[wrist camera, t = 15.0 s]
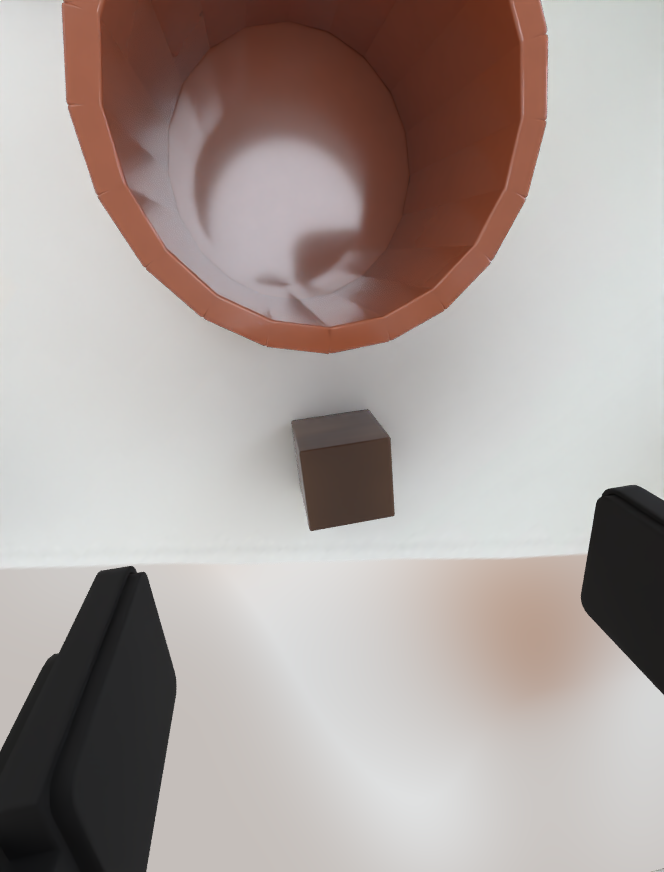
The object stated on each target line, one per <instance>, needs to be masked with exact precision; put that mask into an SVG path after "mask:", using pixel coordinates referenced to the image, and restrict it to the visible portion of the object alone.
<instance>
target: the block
mask: <svg viewBox="0 0 664 872" xmlns="http://www.w3.org/2000/svg"><path fill="white" fill-rule="evenodd" d="M291 424H292V431H293V438H294V445H295V452H296V459H297V466H298V473H299V480H300V487H301V492H302V497H303V502H304V506H305V511H306V515H307V520H308V525H309V529H310V531H314V530H319V529H325V528H330V527H336V526H342V525H347V524H353V523H358V522H364V521H369V520H375V519H380V518H386V517H391V516H394V514H395V512H394V494H393V475H392V457H391V438H390V437H389V435H388V434H387V433H386V432H385V430H384V429H383V428H382V426H381V425H380V424H379V423H378V421H377V420H376V419H375V417H374V416H373V415H372V413H371V412H370V411H369V410H368V409H367V410H360V411H354V412H347V413H341V414H334V415H327V416H321V417H314V418H307V419H301V420H294V421H292V422H291Z"/></svg>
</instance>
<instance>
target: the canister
mask: <svg viewBox="0 0 664 872" xmlns="http://www.w3.org/2000/svg"><path fill="white" fill-rule="evenodd" d="M63 1H64V3H62V22H63V42H64V62H65V83H66V102H67V104H68V110H69V113H70V116H71V119H72V122H73V125H74V128H75V132H76V135H77V138H78V141H79V144H80V147H81V150H82V153H83V156H84V159H85V162H86V165H87V168H88V171H89V174H90V177H91V180H92V183H93V186H94V189H95V192H96V194H97V195H98V199H99V200H100V202H101V203H102V205H103V206H104V208H105V209H106V211H107V212H108V214H109V215H110V217H111V218H112V220H113V221H114V223H115V224H116V226H117V227H118V229H119V230H120V232H121V234H122V235H123V237H124V238H125V240H126V241H127V243H128V244H129V246H130V247H131V249H132V250H133V252H134V253H135V255H136V256H137V258H138V259H139V261H140V262H141V264H142V265H143V266H144V267H146V269H147V271H148V272H150V273H151V274H152V275H153V276H154V277H155V278H156V279H158V280H159V281H160V282H161V283H162V284H163V285H165V286H166V287H167V288H168V289H169V290H170V291H172V292H173V293H174V294H175V295H176V296H177V297H178V298H180V299H181V300H182V301H183V302H184V303H185V304H187V305H188V306H189V307H190V308H191V309H192V310H194V311H195V312H196V313H197V314H198V315H199V316H200V317H204V319H205V320H207V321H209V322H212V323H214V324H216V325H218V326H221V327H223V328H225V329H227V330H230V331H232V332H234V333H236V334H238V335H241V336H243V337H245V338H247V339H250V340H252V341H254V342H256V343H259V344H261V345H263V346H267V347H271V348H280V349H289V350H298V351H307V352H316V353H325V354H329V353H336V352H341V351H346V350H351V349H356V348H360V347H365V346H370V345H375V344H380V343H385V342H388V341H389V340H393V339H395V338H397V337H399V336H400V335H402V334H404V333H406V332H408V331H409V330H411V329H413V328H415V327H416V326H418V325H420V324H422V323H424V322H425V321H427V320H429V319H431V318H432V317H434V316H436V315H438V314H440V313H441V312H443V311H444V309H447V308H448V307H449V306H450V305H451V304H452V303H453V302H454V301H455V300H456V299H457V298H458V296H459V295H460V294H461V293H462V292H463V291H464V290H465V289H466V288H467V287H468V286H469V285H470V284H471V283H472V282H473V281H474V280H475V279H476V278H477V277H478V276H479V275H480V274H481V273H482V272H483V271H484V270H485V269H486V268H487V266H488V265H489V264H490V263H491V261H492V260H493V258H494V257H495V255H496V253H497V251H498V249H499V248H500V246H501V244H502V242H503V240H504V238H505V237H506V235H507V233H508V231H509V229H510V228H511V226H512V224H513V222H514V220H515V218H516V217H517V215H518V213H519V211H520V209H521V208H522V206H523V204H524V202H525V198H526V197H527V195H528V192H529V188H530V184H531V180H532V177H533V173H534V169H535V165H536V161H537V157H538V154H539V150H540V146H541V142H542V138H543V134H544V130H545V127H546V121H545V120H546V118H547V82H548V35H546V33H547V26H546V22H545V17H544V13H543V9H542V5H541V0H63Z"/></svg>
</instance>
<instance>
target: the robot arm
mask: <svg viewBox="0 0 664 872" xmlns="http://www.w3.org/2000/svg"><path fill="white" fill-rule="evenodd" d="M581 602H582V605H583V607H584V609H585V611H586V612H587V614H588V615H589V616H590V617H591V618H592V619H593V620H594V621H595V622H596V623H597V624H598V626H600V628H601V629H602V630H603V631H604V632H605V633H606V634H607V635H608V636H609V637H610V638H611V639H612V640H613V641H614V642H615V644H616V645H617V646H618V647H619V648H620V649H621V650H622V651H623V652H624V653H625V654H626V655H627V656H628V657H629V658H630V659H631V661H632V662H633V663H634V664H635V665H636V666H637V667H638V668H639V669H640V670H641V671H642V672H643V673H644V674H645V675H646V676H647V678H648V679H650V681H651V682H652V683H653V684H654V685H655V686H656V687H657V688H658V689H659V690H660V691H661V692H662V693H663V694H664V500H662V499H660V498H658V497H657V496H655V495H653V494H652V493H650V492H648V491H647V490H645V489H643V488H642V487H639V486H637V485H629V486H623V487H617V488H610V489H607V490H605V491H604V493H603V494H602V497H601V498H599V499H598V500H597V503H596V508H595V514H594V520H593V526H592V532H591V538H590V544H589V550H588V556H587V562H586V568H585V574H584V580H583V586H582V592H581ZM175 698H176V676H175V671H174V668H173V664H172V661H171V657H170V654H169V650H168V647H167V644H166V640H165V636H164V633H163V630H162V626H161V622H160V619H159V616H158V612H157V608H156V605H155V602H154V598H153V594H152V591H151V588H150V584H149V580H148V577H147V575H146V573H145V572H140V573H137V572H136V569H135V568H134V567H133V566H128V567H121V568H116V569H110V570H103V571H100V572H99V573H98V574H97V575H96V577H95V579H94V582H93V584H92V586H91V588H90V590H89V592H88V594H87V596H86V598H85V600H84V603H83V604H82V607H81V609H80V611H79V613H78V615H77V617H76V619H75V621H74V623H73V625H72V627H71V629H70V631H69V634H68V636H67V638H66V640H65V642H64V644H63V646H62V648H61V650H60V652H59V654H54V655H52V656H51V657H50V658H49V659H48V660H47V661H46V663H45V665H44V666H43V668H42V670H41V672H40V673H39V675H38V678H37V679H36V681H35V683H34V685H33V688H32V689H31V691H30V693H29V695H28V697H27V699H26V701H25V703H24V705H23V707H22V709H21V711H20V713H19V715H18V717H17V719H16V721H15V723H14V725H13V727H12V729H11V731H10V733H9V735H8V737H7V739H6V741H5V743H4V745H3V747H2V749H1V751H0V872H146V869H147V863H148V857H149V851H150V845H151V839H152V833H153V827H154V822H155V816H156V810H157V803H158V798H159V792H160V786H161V780H162V774H163V769H164V763H165V757H166V751H167V745H168V739H169V733H170V726H171V721H172V715H173V709H174V703H175ZM652 872H664V868H663V869H660V870H656V871H652Z"/></svg>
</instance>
